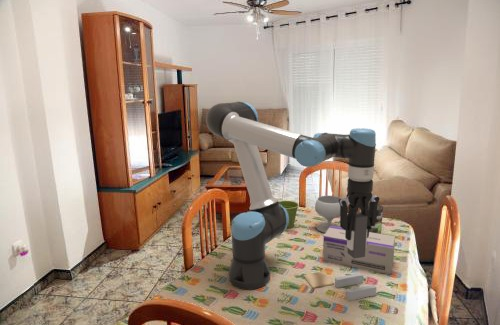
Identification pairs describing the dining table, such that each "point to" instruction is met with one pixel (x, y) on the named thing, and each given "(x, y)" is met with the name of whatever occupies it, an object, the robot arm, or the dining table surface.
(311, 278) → the pad
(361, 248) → the dark grey rectangular block
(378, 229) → the coffee can
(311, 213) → the dining table surface
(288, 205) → the plant pot
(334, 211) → the chalice
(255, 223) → the robot arm
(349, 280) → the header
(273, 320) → the dining table surface
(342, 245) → the surgical sutures box
